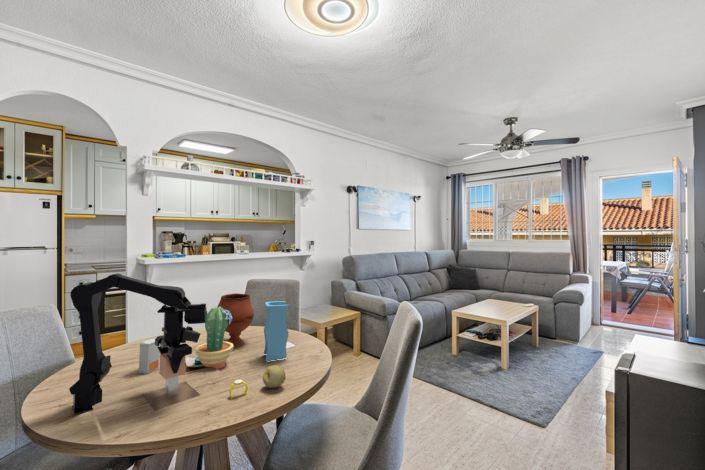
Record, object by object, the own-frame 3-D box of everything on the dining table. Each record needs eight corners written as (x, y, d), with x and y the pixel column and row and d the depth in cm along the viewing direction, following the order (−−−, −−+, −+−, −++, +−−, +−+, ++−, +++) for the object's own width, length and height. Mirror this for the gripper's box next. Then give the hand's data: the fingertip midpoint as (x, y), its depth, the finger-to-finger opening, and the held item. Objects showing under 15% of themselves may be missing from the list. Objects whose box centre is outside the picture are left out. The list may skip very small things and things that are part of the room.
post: (168, 397, 106) (168, 376, 106) (165, 394, 108) (165, 374, 108) (177, 394, 108) (178, 374, 109) (174, 391, 110) (175, 371, 111)
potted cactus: (215, 375, 126) (217, 312, 127) (185, 369, 131) (187, 309, 132) (240, 361, 141) (242, 305, 141) (213, 356, 146) (214, 302, 146)
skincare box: (147, 374, 126) (148, 344, 126) (138, 372, 127) (139, 343, 127) (159, 368, 132) (160, 339, 132) (150, 367, 133) (151, 338, 133)
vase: (287, 360, 144) (289, 305, 144) (265, 362, 140) (267, 306, 141) (284, 352, 153) (285, 300, 153) (263, 354, 150) (264, 301, 150)
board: (154, 413, 98) (154, 410, 98) (141, 397, 108) (142, 394, 108) (200, 397, 109) (200, 394, 109) (185, 384, 118) (185, 381, 118)
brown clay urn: (227, 337, 175) (228, 291, 175) (260, 339, 171) (261, 293, 172) (205, 348, 156) (207, 298, 156) (241, 352, 153) (243, 300, 153)
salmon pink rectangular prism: (165, 379, 104) (165, 359, 104) (159, 373, 108) (160, 354, 108) (184, 373, 109) (185, 354, 109) (178, 368, 113) (179, 350, 113)
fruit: (261, 384, 119) (262, 363, 120) (283, 381, 122) (284, 360, 122) (263, 394, 112) (263, 371, 112) (286, 390, 115) (287, 368, 115)
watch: (230, 403, 106) (229, 385, 106) (228, 399, 109) (227, 382, 109) (248, 397, 110) (247, 380, 110) (246, 393, 112) (245, 377, 112)
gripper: (208, 326, 108) (207, 371, 108) (188, 315, 121) (186, 356, 121) (173, 332, 100) (171, 382, 100) (155, 320, 113) (153, 364, 113)
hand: (172, 370), depth 108 cm, fingers closed on salmon pink rectangular prism, 6 cm apart
